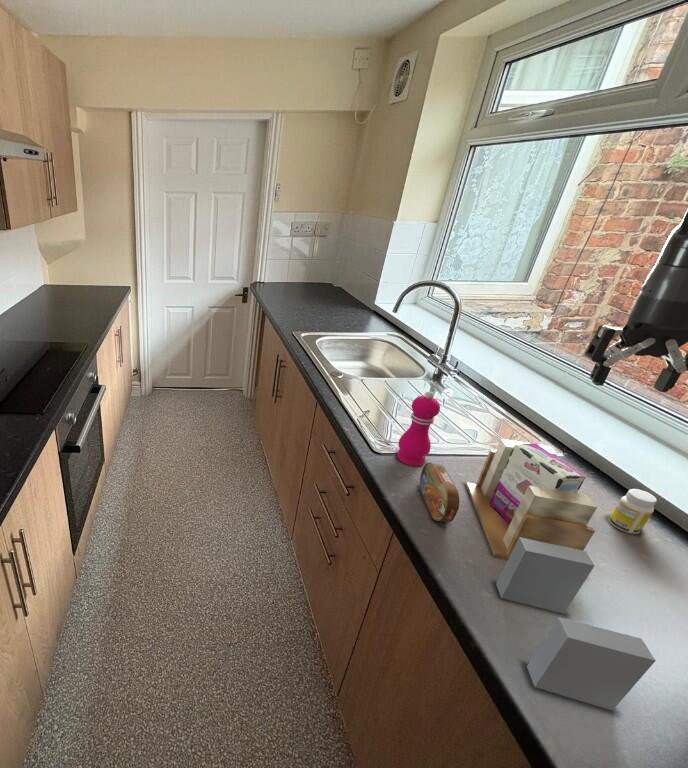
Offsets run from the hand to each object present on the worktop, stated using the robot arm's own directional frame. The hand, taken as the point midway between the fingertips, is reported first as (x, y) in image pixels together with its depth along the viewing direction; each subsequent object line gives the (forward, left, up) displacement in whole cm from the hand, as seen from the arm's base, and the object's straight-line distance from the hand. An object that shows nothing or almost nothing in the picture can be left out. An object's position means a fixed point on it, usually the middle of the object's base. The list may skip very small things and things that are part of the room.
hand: (627, 386), depth 72 cm
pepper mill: (+25, -17, -34) cm, 45 cm away
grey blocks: (+11, +28, -34) cm, 45 cm away
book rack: (+7, +1, -34) cm, 34 cm away
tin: (+22, 0, -34) cm, 40 cm away
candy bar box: (+6, +1, -33) cm, 33 cm away
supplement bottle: (-14, -6, -34) cm, 37 cm away
